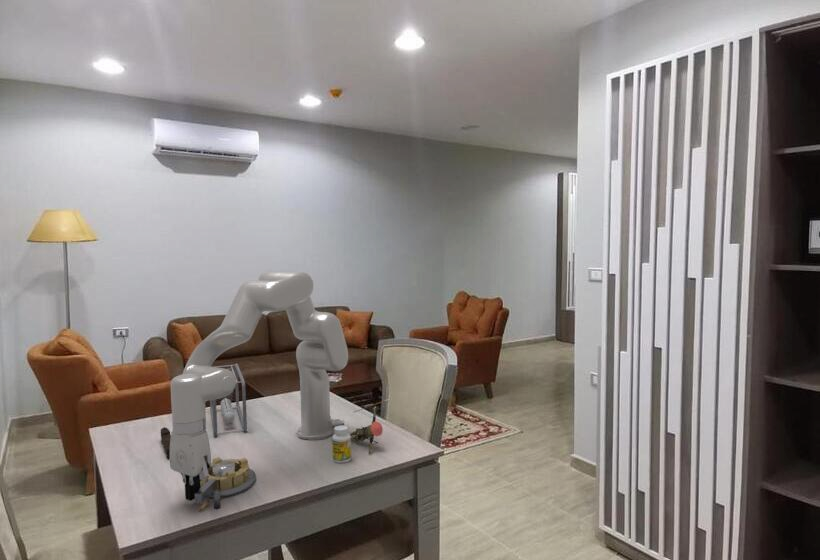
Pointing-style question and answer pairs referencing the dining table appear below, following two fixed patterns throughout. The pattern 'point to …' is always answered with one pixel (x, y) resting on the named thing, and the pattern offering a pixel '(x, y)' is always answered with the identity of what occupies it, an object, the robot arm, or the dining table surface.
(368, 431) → the green toy propeller plane
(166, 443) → the hand tool
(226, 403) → the newton's cradle
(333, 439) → the supplement bottle
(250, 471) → the housing
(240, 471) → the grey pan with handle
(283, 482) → the dining table surface
